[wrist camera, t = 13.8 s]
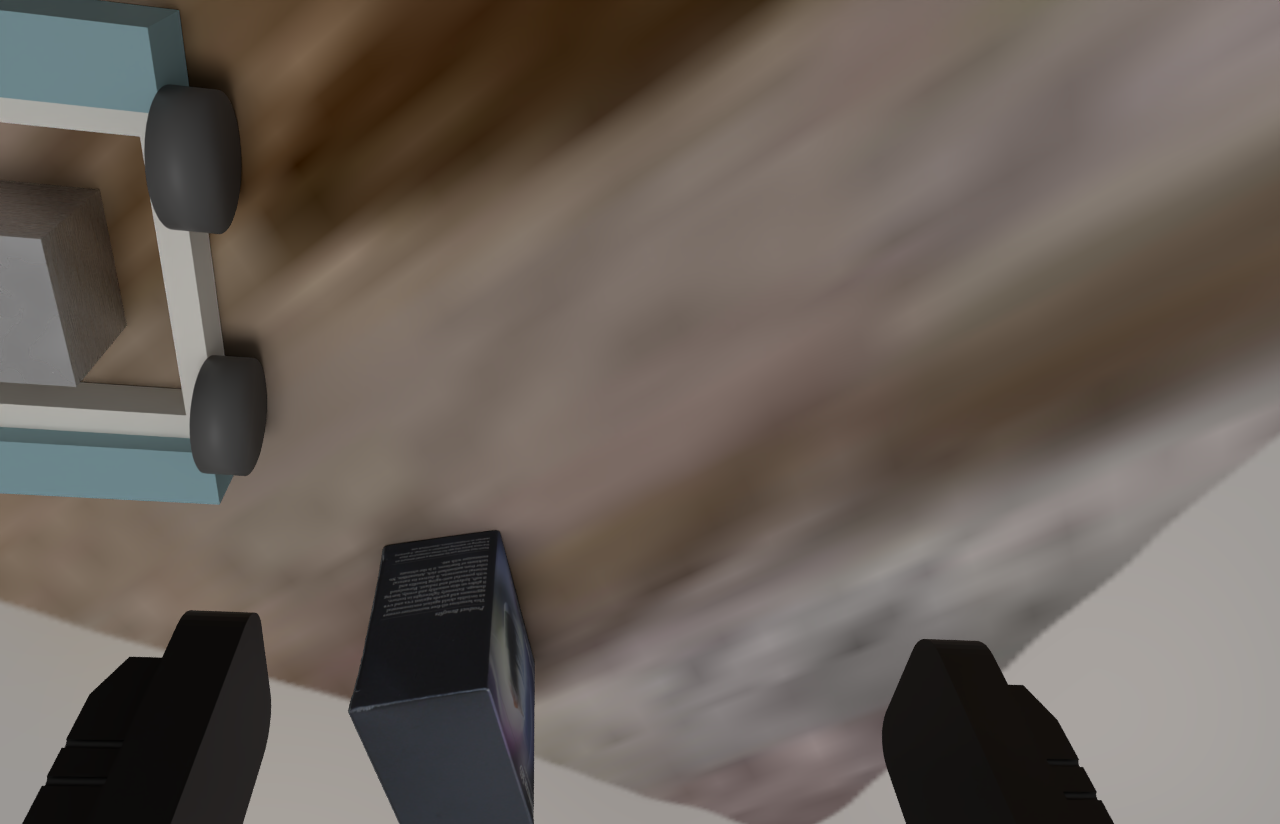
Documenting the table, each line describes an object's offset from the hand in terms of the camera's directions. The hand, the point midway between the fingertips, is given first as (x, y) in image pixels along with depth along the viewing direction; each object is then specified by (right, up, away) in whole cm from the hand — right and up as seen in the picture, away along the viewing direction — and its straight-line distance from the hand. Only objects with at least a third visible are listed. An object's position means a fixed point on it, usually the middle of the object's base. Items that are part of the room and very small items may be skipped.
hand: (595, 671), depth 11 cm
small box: (-9, -7, +38) cm, 40 cm away
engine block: (-23, +10, +26) cm, 36 cm away
